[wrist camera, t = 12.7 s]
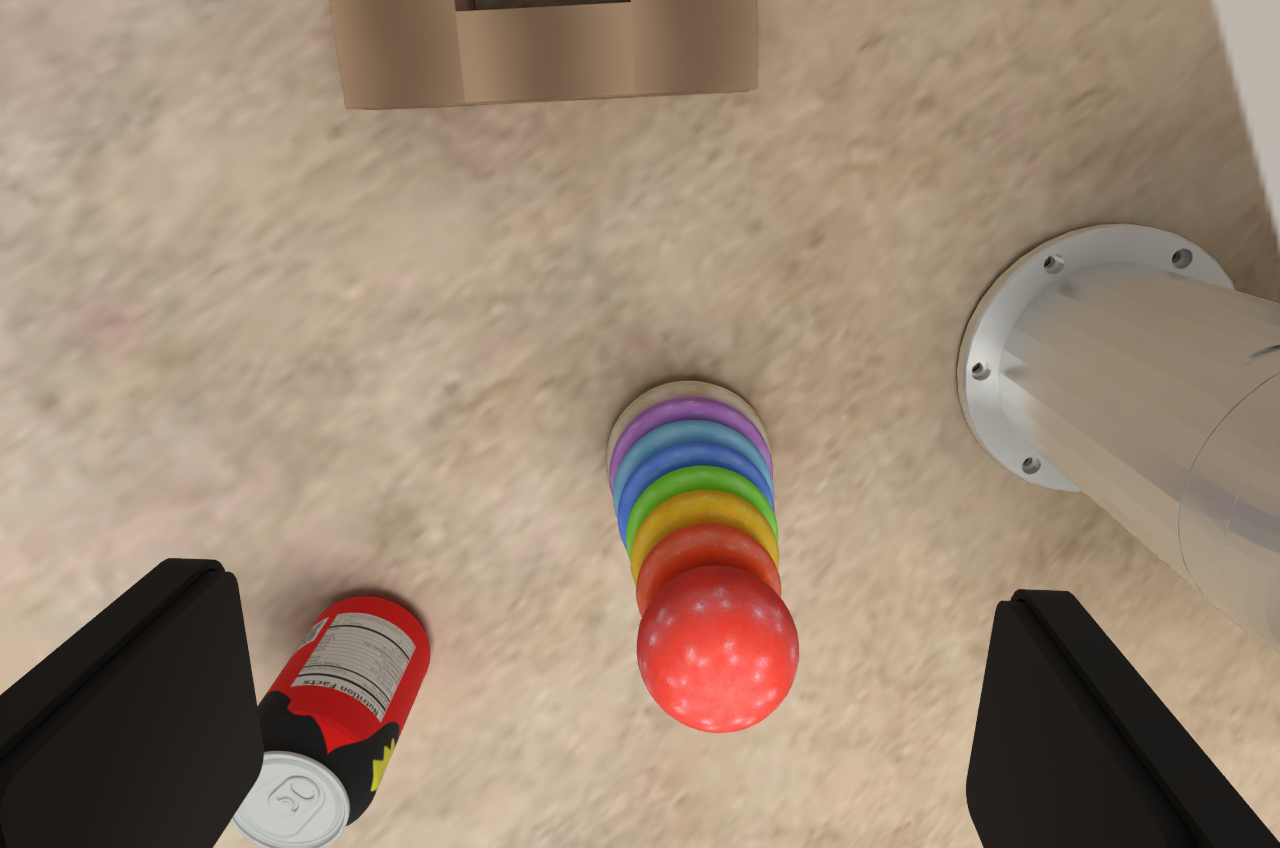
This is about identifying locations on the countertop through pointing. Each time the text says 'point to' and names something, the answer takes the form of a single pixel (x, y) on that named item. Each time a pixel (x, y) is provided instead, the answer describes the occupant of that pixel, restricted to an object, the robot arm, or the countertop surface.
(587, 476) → the countertop surface
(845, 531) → the countertop surface
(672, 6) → the brown flat frame block
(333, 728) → the beverage can
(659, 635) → the stacking toy
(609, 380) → the countertop surface
